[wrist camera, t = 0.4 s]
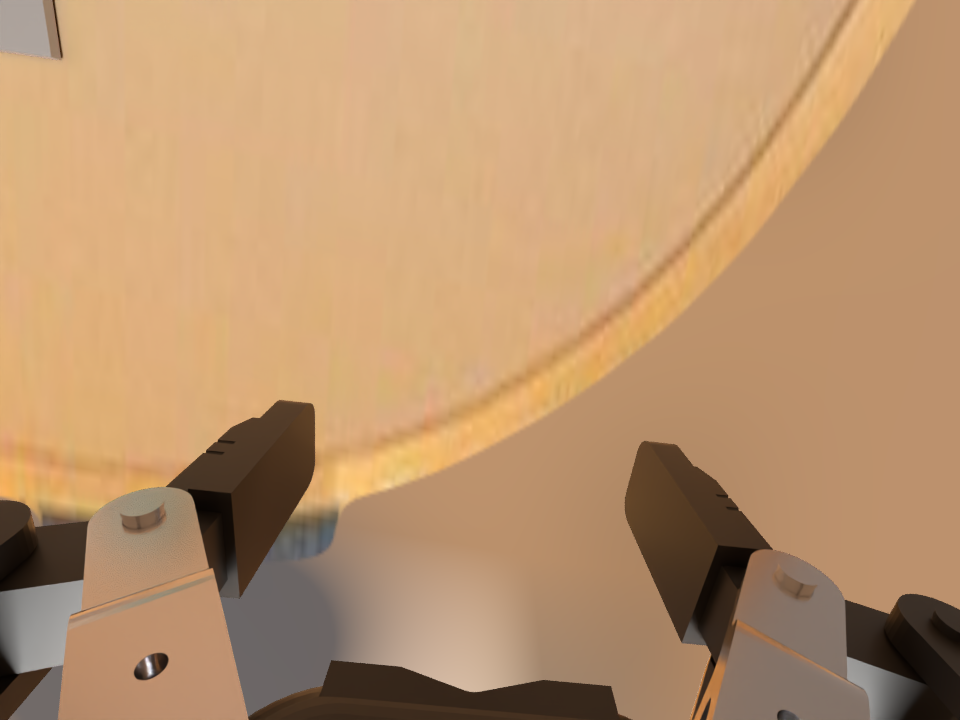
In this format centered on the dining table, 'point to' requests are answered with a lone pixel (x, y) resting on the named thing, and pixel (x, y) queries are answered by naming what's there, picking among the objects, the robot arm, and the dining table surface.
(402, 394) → the dining table surface
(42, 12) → the plate
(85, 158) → the dining table surface
